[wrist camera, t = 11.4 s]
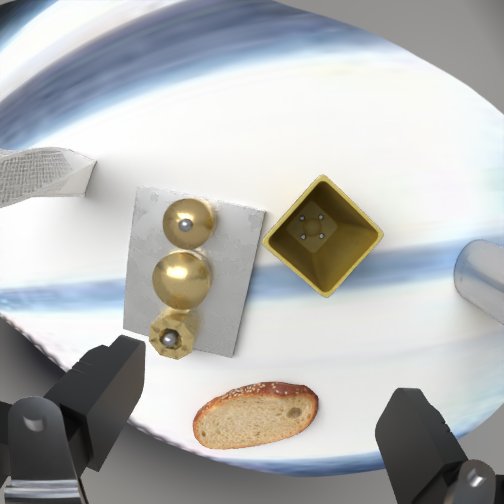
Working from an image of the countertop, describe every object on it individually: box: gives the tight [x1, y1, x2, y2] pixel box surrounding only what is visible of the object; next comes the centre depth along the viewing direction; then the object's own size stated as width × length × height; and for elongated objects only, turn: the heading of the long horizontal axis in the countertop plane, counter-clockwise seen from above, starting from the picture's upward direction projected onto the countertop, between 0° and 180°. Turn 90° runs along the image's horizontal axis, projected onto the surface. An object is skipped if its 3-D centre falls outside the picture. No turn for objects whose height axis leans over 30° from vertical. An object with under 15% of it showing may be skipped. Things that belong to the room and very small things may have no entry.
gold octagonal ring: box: [149, 307, 199, 360], centre depth 38 cm, size 6×6×4 cm
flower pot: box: [262, 175, 384, 298], centre depth 33 cm, size 9×9×9 cm
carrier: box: [123, 186, 265, 358], centre depth 37 cm, size 16×20×6 cm
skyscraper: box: [0, 147, 97, 208], centre depth 23 cm, size 8×8×28 cm
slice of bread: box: [193, 382, 318, 450], centre depth 43 cm, size 18×18×4 cm
